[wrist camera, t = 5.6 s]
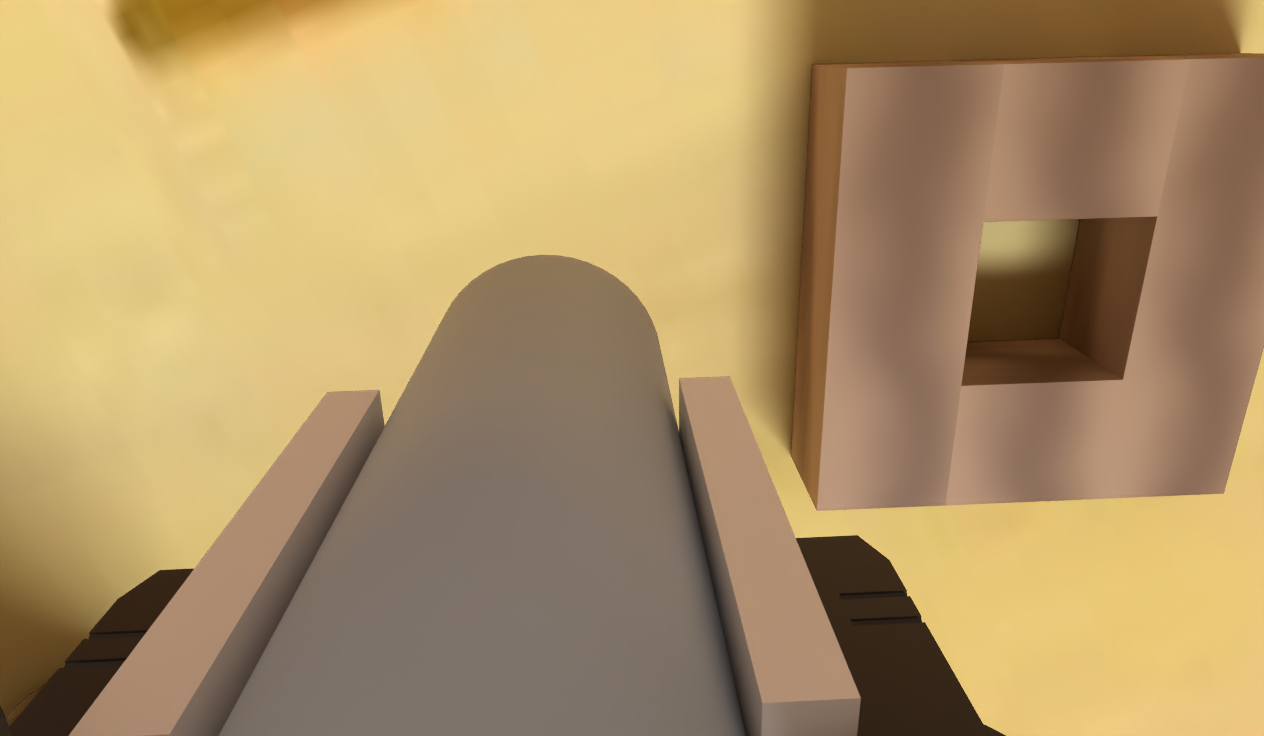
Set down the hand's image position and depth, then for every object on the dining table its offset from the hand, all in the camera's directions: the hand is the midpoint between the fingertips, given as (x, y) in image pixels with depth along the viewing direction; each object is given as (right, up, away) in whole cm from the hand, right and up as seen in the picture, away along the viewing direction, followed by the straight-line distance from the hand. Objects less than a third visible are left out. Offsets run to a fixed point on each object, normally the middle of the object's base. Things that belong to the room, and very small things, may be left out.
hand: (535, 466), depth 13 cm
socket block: (+16, +5, +21) cm, 27 cm away
